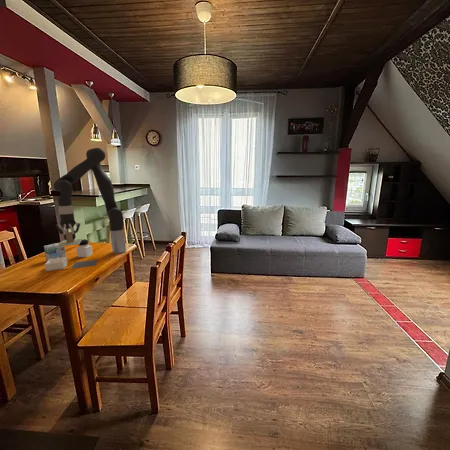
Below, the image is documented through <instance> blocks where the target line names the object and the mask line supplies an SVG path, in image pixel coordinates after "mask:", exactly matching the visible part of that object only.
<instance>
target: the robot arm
mask: <svg viewBox="0 0 450 450" xmlns="http://www.w3.org/2000/svg"><path fill="white" fill-rule="evenodd" d="M85 156H86V159H85V160H84V161H81V162H80V163H78V164H77V165H75V166H73V168H71V169H70V170H69V171H67V173H65V174H64V175H63V176H61V177H59V178H57V179H56V181H54V183H53V189H54V190H55V191H56V192H59V193H60V196H58V197H57V203H58V215H59V219H60V222H59V223H58V224H55V227H54V228H56V230H57V232H59V234H61V235H63V238H64V240H67V239H66V233H67V232H68V231H67V230H70V232H72V236H73V240H74V239H77V236H76V234H77V233H78V232H79V231H80V227H81V223H80V222H76V221H75V220H76V219H75V215H74V207H73V203H72V195H73V194H72V193H73V185H72V184H75V183H77V182H78V181H80V179H82V178H83V177H84V176H85V175H86V173H88V172H89V171H90V170H92V173H93V176H94V179H95V181H96V184H97V187H98V191H99V193H100V196H101V198H102V200H103V203H104V205H105V210H106V214H107V218H109V231H110V232H109V233H110V241H111V248H112V253H113V254H123V253H126V252H127V246H126V238H125V232H124V231H125V230H124V225H125V224H124V215H123V211H122V210H121V209H119V206H118V205H117V203H116V200H115V198H116V197H115V190H114V186H113V183H112V180H111V179H110V176H109V175H107V173H106V172H105V171H104V169H103V166H102V162H103V161H105V159H106V152H105V150H104V149H102V148H100V147H93V148H89V149H88V150H87V151H86V153H85ZM75 226H76V228H74V227H75ZM61 227H62V228H63V230H62V228H61Z"/></svg>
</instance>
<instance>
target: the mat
mask: <svg viewBox="0 0 450 450" xmlns="http://www.w3.org/2000/svg"><path fill="white" fill-rule="evenodd" d="M98 261H99V259H98V258H97V259H92V260H91V259H89V260H81V261H75V262H74V263H73V265H72V267H71V268H70V269H71V270H72V269H80V268H86V267H95V266H97V264H98Z"/></svg>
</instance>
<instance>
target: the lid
mask: <svg viewBox="0 0 450 450" xmlns="http://www.w3.org/2000/svg"><path fill="white" fill-rule="evenodd" d="M66 239H67V240H66ZM66 239H64V240H61V241H60V242H61V243H60V242H59V243H60V244H59V245H58V246H64V247H66V246H76V245H78V246H79V244H80V242H81V241H82V240H83V238H78V239H77V238H75V239H74V240H73V236H72V231H67V232H66Z"/></svg>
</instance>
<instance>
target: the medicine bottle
mask: <svg viewBox="0 0 450 450" xmlns="http://www.w3.org/2000/svg"><path fill="white" fill-rule="evenodd" d="M75 249H76V255H77V258H88V257H90V256H92V255H93V247H92V245H91V244H90V245H89V239H85V238H82V241H81V242H80V244H78V246H77V247H76V248H75Z"/></svg>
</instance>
